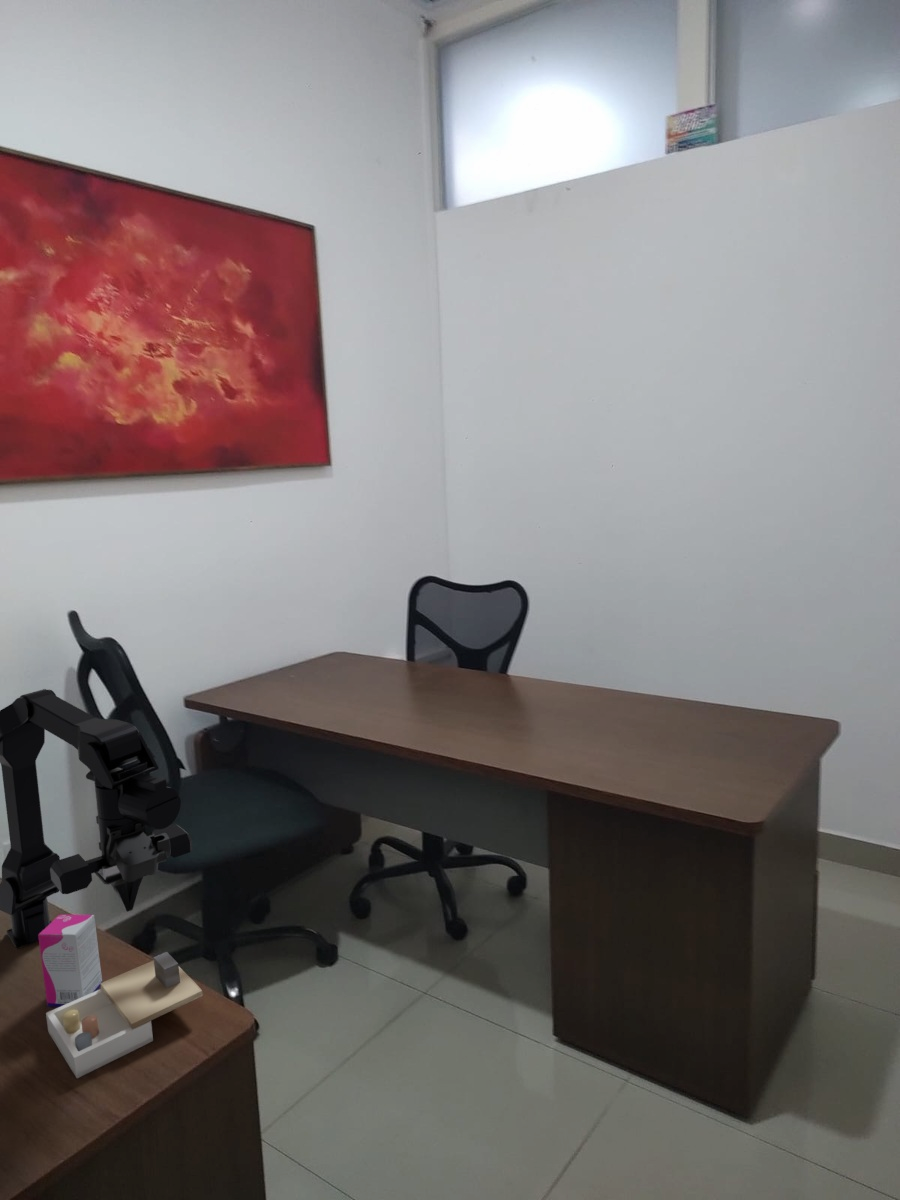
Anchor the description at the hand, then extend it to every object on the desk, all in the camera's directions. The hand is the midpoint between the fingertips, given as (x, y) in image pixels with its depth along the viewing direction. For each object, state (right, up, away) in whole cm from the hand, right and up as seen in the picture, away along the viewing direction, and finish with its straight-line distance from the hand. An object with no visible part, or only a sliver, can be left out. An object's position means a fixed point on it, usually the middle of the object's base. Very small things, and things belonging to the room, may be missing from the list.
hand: (128, 909), depth 123 cm
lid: (+5, -10, -4) cm, 12 cm away
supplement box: (-8, -13, +1) cm, 16 cm away
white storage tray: (-1, -14, -8) cm, 17 cm away
